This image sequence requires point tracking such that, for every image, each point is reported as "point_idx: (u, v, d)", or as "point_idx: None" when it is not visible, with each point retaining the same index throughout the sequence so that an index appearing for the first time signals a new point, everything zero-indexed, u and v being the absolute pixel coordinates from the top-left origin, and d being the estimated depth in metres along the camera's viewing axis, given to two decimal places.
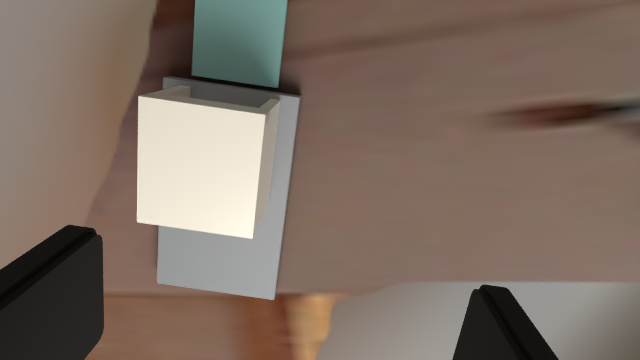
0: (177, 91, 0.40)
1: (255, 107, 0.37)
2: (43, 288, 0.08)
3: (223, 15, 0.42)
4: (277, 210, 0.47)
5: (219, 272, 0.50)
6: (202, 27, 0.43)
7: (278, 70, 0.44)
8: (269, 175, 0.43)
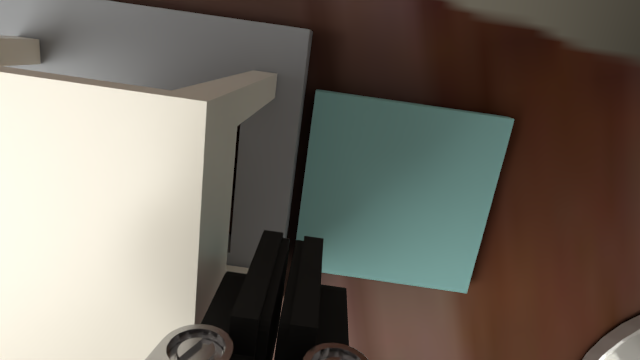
0: None
1: None
2: (279, 286, 0.09)
3: (440, 171, 0.20)
4: None
5: None
6: (418, 124, 0.19)
7: (326, 270, 0.22)
8: None
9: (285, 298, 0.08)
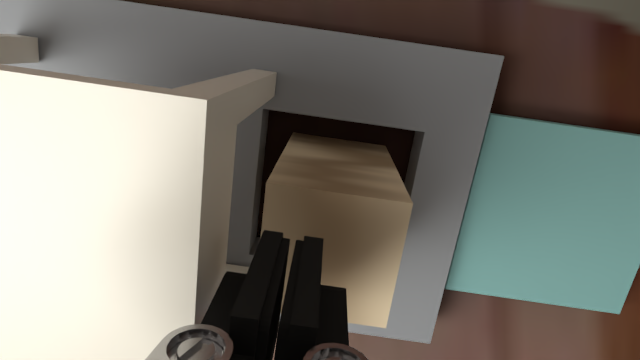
0: None
1: None
2: (279, 286, 0.09)
3: (607, 194, 0.20)
4: None
5: None
6: (591, 148, 0.19)
7: (479, 291, 0.22)
8: None
9: (285, 298, 0.08)
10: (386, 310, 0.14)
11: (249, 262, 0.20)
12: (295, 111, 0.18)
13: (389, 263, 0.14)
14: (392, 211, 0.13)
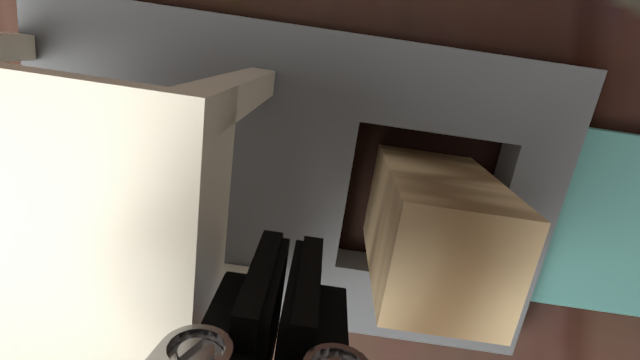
0: None
1: None
2: (279, 286, 0.09)
3: None
4: None
5: None
6: None
7: (560, 303, 0.22)
8: None
9: (285, 298, 0.08)
10: (512, 328, 0.14)
11: (335, 274, 0.20)
12: (392, 124, 0.18)
13: (521, 281, 0.13)
14: (529, 231, 0.13)
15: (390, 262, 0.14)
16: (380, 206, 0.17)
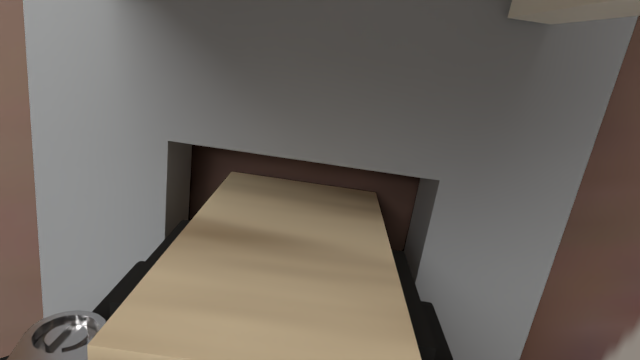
0: None
1: None
2: None
3: None
4: None
5: None
6: None
7: None
8: None
9: None
10: None
11: (151, 141, 0.11)
12: (430, 230, 0.11)
13: None
14: None
15: None
16: (314, 240, 0.09)
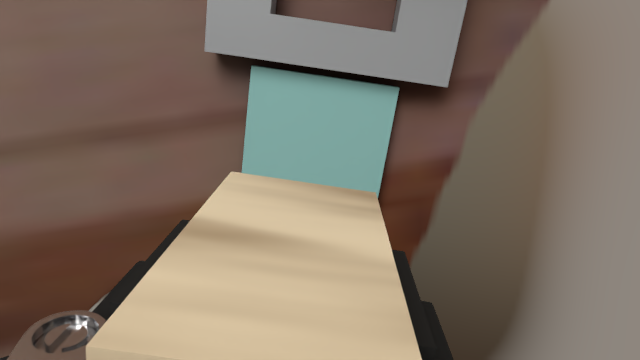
0: None
1: None
2: None
3: (336, 179, 0.27)
4: None
5: None
6: (371, 162, 0.27)
7: (250, 95, 0.26)
8: None
9: None
10: None
11: None
12: None
13: None
14: None
15: None
16: (314, 240, 0.09)
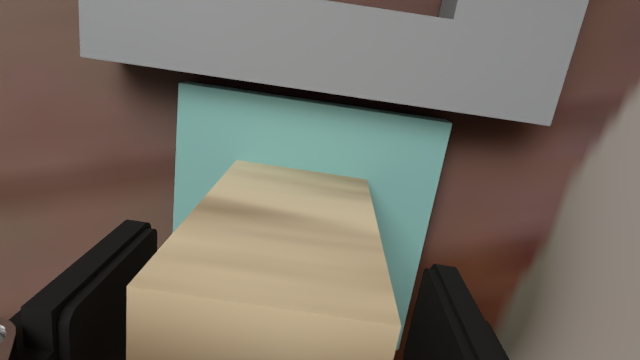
0: None
1: None
2: (115, 277, 0.09)
3: None
4: None
5: None
6: (397, 251, 0.15)
7: (179, 136, 0.14)
8: None
9: (458, 339, 0.08)
10: None
11: None
12: None
13: None
14: None
15: (273, 304, 0.07)
16: (310, 216, 0.11)
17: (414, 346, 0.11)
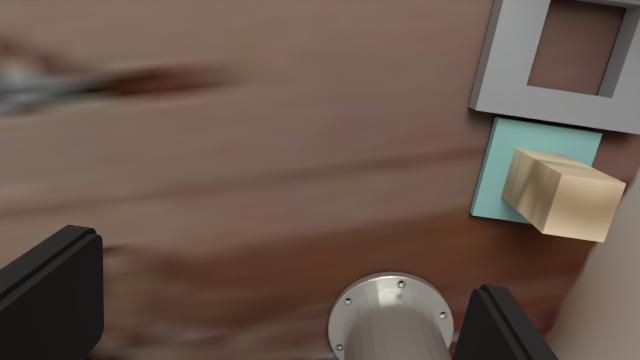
0: None
1: None
2: (43, 288, 0.08)
3: None
4: None
5: None
6: None
7: (494, 138, 0.37)
8: None
9: None
10: (552, 233, 0.31)
11: None
12: (638, 25, 0.33)
13: (576, 234, 0.31)
14: (601, 234, 0.31)
15: (595, 179, 0.29)
16: (570, 164, 0.33)
17: None
